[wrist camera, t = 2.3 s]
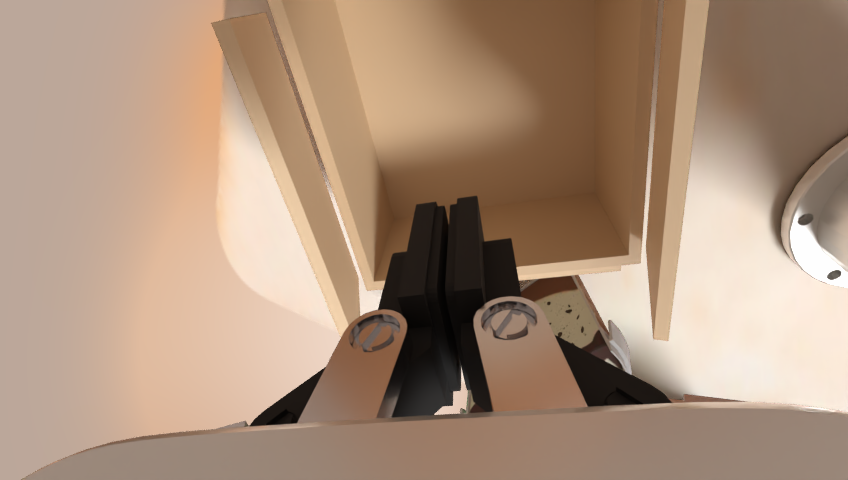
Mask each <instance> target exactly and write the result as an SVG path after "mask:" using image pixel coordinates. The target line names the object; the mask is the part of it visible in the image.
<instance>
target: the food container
mask: <svg viewBox="0 0 848 480" xmlns="http://www.w3.org/2000/svg"><path fill="white" fill-rule="evenodd" d="M520 291H521V296H522V298H525V299H528V300H531V301H533V302H534V303H536V304H537V305H539V306H540V308H541V309H542V311H543V312H544V314H545V316H546V318H547V320H548V322H549V324H550V327H551V329H552V331H553V333H554V335H556V336H558V337H560V338H562V339H564V340H566V341H568V342H570V343H572V344H573V345H575V346H577V347H579V348H581V349H583V350H585V351H587V352H589V353H591V354H593V355H594V356H596V357H598V358H600V359H602V360H604V361H606V362H608V363H610V364H612V365H614V366H615V367H617V368H619V369H621V370H623V371H625V372H627V373H629V374H631V375H632V371H631V362H630V354H629V349H628V346H627V343H626V340H625V338H624V336H623V335H622V333H621V332H620V330H619V328H618V327H617V326H616V325H615V324H614V323H613V322H612V321H611V320H609V321H608V326H609V332H608V330H607V328H606V326H605V325H604V323H603V321H602V319H601V317H600V315H599V313H598V311H597V309H596V307H595V306H594V304H593V302H592V300H591V298H590V296H589V294H588V292H587V290H586V289H585V287H584V285H583V283H582V281H581V279H580V277H579V275H571V276H561V277H551V278H541V279H533V280H531V281H530V282H528V283H527V284H526V285H524V286H523V287H521V288H520ZM480 412H486V411H484V410H483V409H482V408H481V407H479V406H478V405H477V404H475V403H474V402H473V398H472V393H471V390H468V397H467V407H466V410H464V409H462V408H461V409H460V413H461V414H463V413H480Z"/></svg>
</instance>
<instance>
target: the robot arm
mask: <svg viewBox="0 0 848 480" xmlns="http://www.w3.org/2000/svg"><path fill="white" fill-rule="evenodd" d="M781 237H782V241H783V246H784V248H785V250H786V252H787V253H788V255H789V257H790V258H791V259H792V260H793V261H794V262H795V263H796V264H797V265H798V266H799V267H800V268H801V269H802V270H803V271H804V272H806V273H807V274H808V275H810V276H811V277H813V278H814V279H817V280H819V281H821V282H823V283H826V284H830V285H835V286H840V287H846V288H848V136H847V137H846V138H844V139H843V140H842V141H840V142H839V143H838V144H836V145H835V146H834V147H832V148H831V149H830V150H828V151H827V152H826V153H825V154H824V155H823V156H822V157H821V158H820V159H819V160H818V161H817V162H815V163H814V164H813V165H812V166H811V167H810V168H809V170H808V171H807V172H806V173H805V175H804V176H803V177H802V178H801V180H800V181H799V182H798V184H797V185H796V186H795V188H794V190H793V192H792V194H791V196H790V197H789V199H788V201H787V203H786V207H785V210H784V213H783V216H782V222H781ZM461 367H462V371H463V375H464V380H465V384H466V388H467V390H471V393H472V398H473V402H474V403H475V404H477V405H478V406H479V407H481V408H482V409H483V410H484V411H486V412H480V413H463V414H445V415H434V414H435V413H436V412H437V411H438V410H439V409H440V408H441V407H442V406H452V405H453V391H460V390H461ZM21 480H848V412H843V411H839V410H832V409H825V408H817V407H810V406H803V405H795V404H782V403H764V402H746V401H738V400H730V399H721V398H713V397H704V396H696V395H688V394H684V396H683V400H677V399H669V398H667V397H666V396H665V394H664V393H662V392H661V391H659V390H658V389H656V388H655V387H653V386H652V385H650V384H648V383H646V382H644V381H642V380H640V379H638V378H636V377H635V376H633V375H631V374H629V373H627V372H625V371H623V370H621V369H619V368H617V367H615V366H614V365H612V364H610V363H608V362H606V361H604V360H602V359H600V358H598V357H596V356H594V355H593V354H591V353H589V352H587V351H585V350H583V349H581V348H579V347H577V346H575V345H573V344H572V343H570V342H568V341H566V340H564V339H562V338H560V337H558V336H556V335H554V333H553V331H552V329H551V327H550V324H549V322H548V320H547V318H546V316H545V314H544V312H543V311H542V309H541V308H540V306H539V305H537V304H536V303H534V302H533V301H531V300H528V299H525V298H522V296H521V291H520V285H519V279H518V273H517V267H516V262H515V256H514V250H513V244H512V239H511V238H507V239H499V240H491V241H484V235H483V229H482V222H481V216H480V210H479V203H478V197H477V196H470V197H463V198H457V204H451V205H450V214H449V223H448V219H447V214H446V209H445V206H438V205H437V202H429V203H422V204H416V207H415V212H414V217H413V222H412V227H411V232H410V237H409V242H408V247H407V251H405V252H397V253H393V254H392V257H391V260H390V264H389V268H388V272H387V276H386V280H385V284H384V288H383V292H382V296H381V300H380V304H379V308H378V310H375V311H372V312H368V313H365V314H364V315H362V316H360V317H358V318H356V319H355V320H354V321H353V322H352V323H351V324H349V326H348V327H347V328H346V330H345V331H344V333H343V335H342V337H341V339H340V341H339V343H338V345H337V347H336V349H335V351H334V352H333V354H332V356H331V359H330V360H329V362H328V364H327V366H326V367H325V368H324V369H322V370H321V371H319V372H318V373H317V374H315V375H314V376H312V377H311V378H310V379H308V380H307V381H305V382H304V383H303V384H301V385H300V386H299V387H297V388H296V389H294V390H293V391H291V392H290V393H288V394H287V395H286V396H284V397H283V398H281V399H280V400H279V401H277V402H276V403H274V404H273V405H272V406H270V407H269V408H267V409H266V410H265V411H264V412H262V413H261V414H260V415H259V416H258V417H257V418H255V419H254V421H253V422H252V423H251V425H249V426H248V424H247V423H246V421H243V422H239V423H236V424H232V425H228V426H225V427H221V428H218V429H211V430H198V431H187V432H177V433H168V434H158V435H149V436H142V437H136V438H131V439H126V440H120V441H115V442H110V443H107V444H103V445H100V446H96V447H93V448H90V449H86V450H83V451H81V452H78V453H76V454H73V455H70V456H68V457H65V458H63V459H61V460H58V461H55V462H53V463H51V464H49V465H47V466H45V467H43V468H41V469H39V470H37V471H35V472H33V473H32V474H30V475H28V476H26V477H25V478H23V479H21Z"/></svg>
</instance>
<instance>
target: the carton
mask: <svg viewBox="0 0 848 480" xmlns="http://www.w3.org/2000/svg"><path fill="white" fill-rule="evenodd" d="M267 1H268V4H269V7H270V10H271V13H272V16H273V19H274V22H275V25H276V28H277V30H278V33H279V36H280V39H281V42H282V45H283V48H284V51H285V54H286V57H287V60H288V63H289V65H290V68H291V71H292V74H293V77H294V80H295V83H296V86H297V89H298V92H299V95H300V98H301V100H302V103H303V106H304V109H305V112H306V115H307V118H308V121H309V124H310V127H311V130H312V132H313V135H314V138H315V141H316V144H317V147H318V150H319V153H320V156H321V159H322V162H323V165H324V167H325V170H326V173H327V176H328V179H329V182H330V185H331V188H332V191H333V194H334V197H335V199H336V202H337V205H338V208H339V211H340V214H341V217H342V220H343V223H344V226H345V229H346V232H347V234H348V237H349V240H350V243H351V246H352V249H353V252H354V255H355V258H356V261H357V264H358V266H359V269H360V272H361V275H362V278H363V281H364V284H365V287H366V290H367V291H371V290H381V289H383V288H384V284H385V280H386V276H387V272H388V268H389V264H390V260H391V257H392V254H393V253H397V252H405V251H407V247H408V242H409V237H410V232H411V227H412V222H413V217H414V212H415V207H416V204H422V203H429V202H437V205H438V206H445V209H446V214H447V219H448V223H449V214H450V205H451V204H457V198H463V197H470V196H477V197H478V203H479V210H480V216H481V222H482V229H483V235H484V241H491V240H499V239H507V238H511V239H512V244H513V250H514V256H515V262H516V267H517V273H518V279H519V281H520V280H531V279H541V278H551V277H561V276H571V275H581V274H592V273H602V272H612V271H621V265H630V264H639V263H641V249H642V235H643V220H644V205H645V190H646V175H647V161H648V146H649V131H650V116H651V101H652V87H653V72H654V57H655V42H656V27H657V13H658V0H267Z"/></svg>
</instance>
